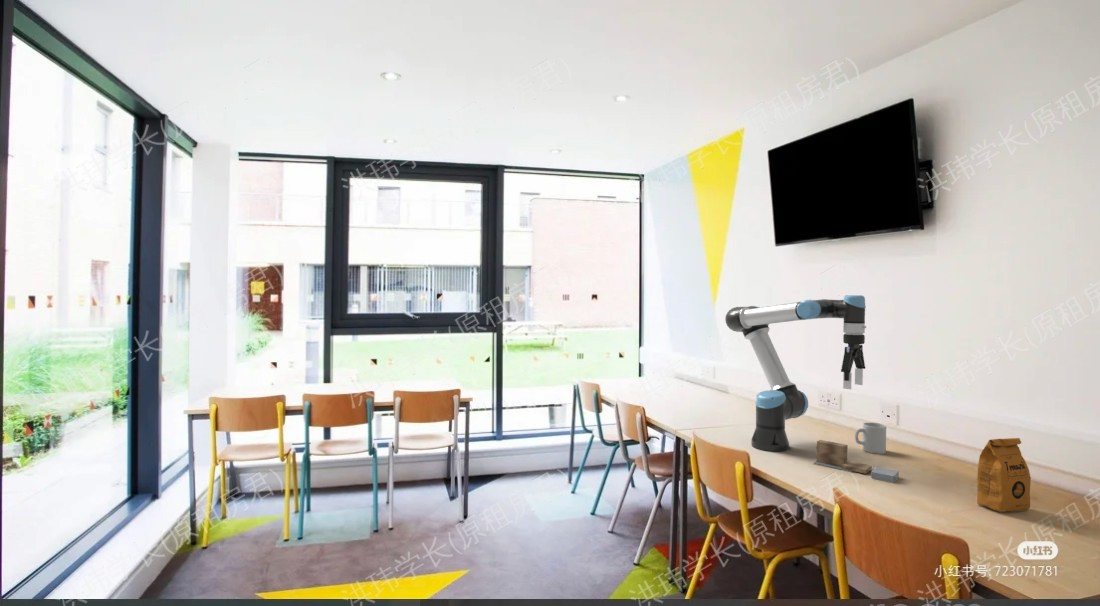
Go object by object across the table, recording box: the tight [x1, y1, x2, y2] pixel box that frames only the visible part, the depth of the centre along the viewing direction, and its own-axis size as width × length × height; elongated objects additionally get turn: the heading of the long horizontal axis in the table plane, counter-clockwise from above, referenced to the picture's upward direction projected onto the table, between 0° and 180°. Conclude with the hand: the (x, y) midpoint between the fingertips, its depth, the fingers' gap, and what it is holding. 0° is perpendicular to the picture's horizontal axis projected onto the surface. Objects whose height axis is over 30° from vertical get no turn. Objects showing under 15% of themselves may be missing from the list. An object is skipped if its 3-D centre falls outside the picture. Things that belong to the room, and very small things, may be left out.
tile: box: [870, 466, 900, 484], centre depth 203 cm, size 7×3×8 cm
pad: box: [813, 460, 854, 473], centre depth 217 cm, size 14×8×1 cm, turn 45°
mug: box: [854, 422, 887, 455], centre depth 236 cm, size 12×8×11 cm
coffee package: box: [976, 437, 1032, 513], centre depth 175 cm, size 10×12×22 cm
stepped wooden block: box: [816, 439, 873, 474], centre depth 215 cm, size 18×7×8 cm, turn 45°
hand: (853, 386), depth 226 cm, fingers open, 13 cm apart
